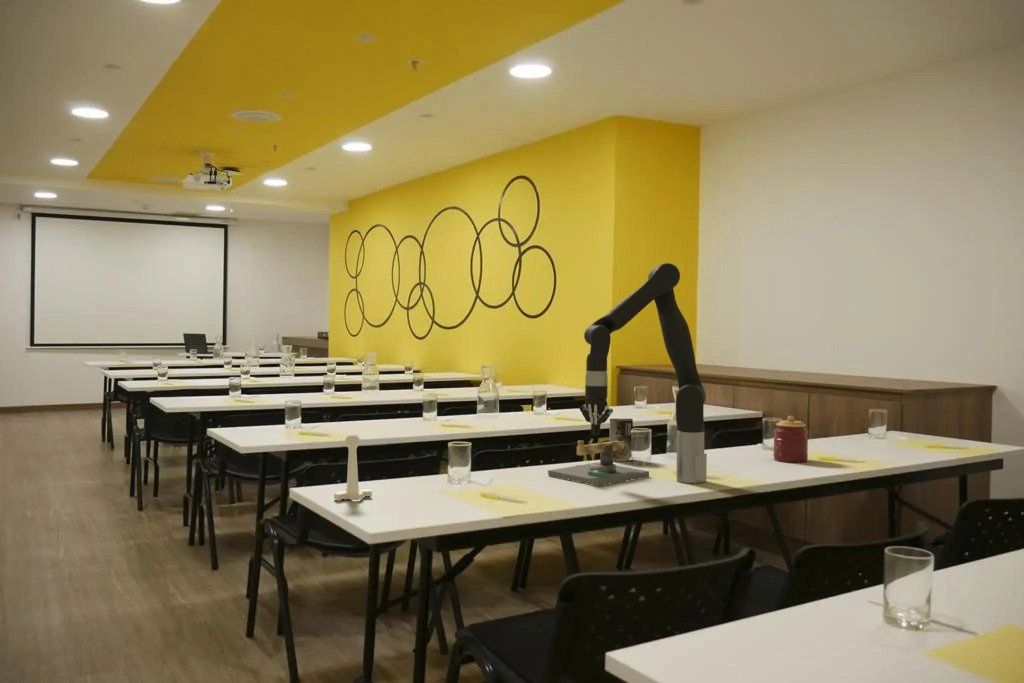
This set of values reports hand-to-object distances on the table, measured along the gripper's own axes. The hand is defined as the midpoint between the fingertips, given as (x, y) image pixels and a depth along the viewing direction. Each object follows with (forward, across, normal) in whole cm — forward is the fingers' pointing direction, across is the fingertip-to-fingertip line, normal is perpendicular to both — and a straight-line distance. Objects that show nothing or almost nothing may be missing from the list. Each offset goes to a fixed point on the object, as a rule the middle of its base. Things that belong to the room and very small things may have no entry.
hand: (595, 435), depth 289 cm
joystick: (+17, +38, +72) cm, 83 cm away
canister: (+16, -30, -89) cm, 95 cm away
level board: (+16, +6, -10) cm, 20 cm away
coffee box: (+16, +19, -44) cm, 50 cm away
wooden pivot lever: (+14, +4, -8) cm, 17 cm away
